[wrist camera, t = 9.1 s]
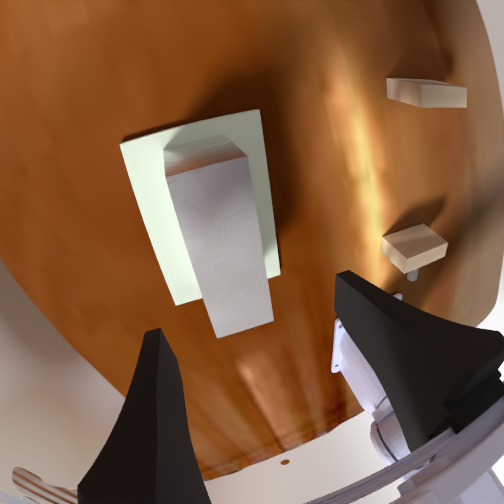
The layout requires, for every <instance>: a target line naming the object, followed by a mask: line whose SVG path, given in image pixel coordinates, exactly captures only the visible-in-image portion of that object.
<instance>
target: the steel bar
mask: <svg viewBox="0 0 504 504" xmlns="http://www.w3.org/2000/svg"><path fill="white" fill-rule="evenodd" d="M163 157H164V169H165V178H166V182H167V185H168V189H169V192H170V196H171V199H172V203H173V206H174V209H175V213H176V216H177V219H178V223H179V226H180V229H181V232H182V236H183V239H184V242H185V245H186V248H187V251H188V255H189V258H190V261H191V264H192V267H193V270H194V273H195V276H196V279H197V282H198V285H199V288H200V291H201V294H202V297H203V300H204V303H205V305H206V308H207V311H208V314H209V317H210V320H211V322H212V325H213V328H214V331H215V334H216V336H217V338H220V337H223V336H227V335H230V334H233V333H236V332H240V331H243V330H246V329H249V328H252V327H256V326H259V325H262V324H265V323H268V322H271V321H274V319H273V312H272V306H271V299H270V293H269V286H268V280H267V273H266V267H265V261H264V254H263V248H262V242H261V235H260V229H259V223H258V216H257V210H256V204H255V198H254V192H253V185H252V179H251V173H250V167H249V161H248V156H247V155H246V154H245V153H244V152H243V151H242V150H241V149H240V148H239V147H237V146H236V145H235V144H234V143H233V142H232V141H231V140H230V139H229V138H228V137H227V136H226V135H224V134H221V135H217V136H213V137H208V138H204V139H200V140H196V141H193V142H189V143H185V144H181V145H178V146H174V147H170V148H167V149H163Z"/></svg>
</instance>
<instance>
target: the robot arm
mask: <svg viewBox="0 0 504 504" xmlns="http://www.w3.org/2000/svg"><path fill="white" fill-rule="evenodd" d="M401 300H402V295H401V294H400V293H397V294H395V295H393V296H392V295H390V294H389V293H387V292H385V291H383V290H382V289H380V288H378V287H377V286H375V285H373V284H372V283H370V282H368V281H367V280H365V279H363V278H362V277H360V276H358V275H357V274H355V273H353V272H351V271H350V270H347V271H344V272H341V273H338V274H336V281H335V304H334V310H335V312H336V314H337V316H338V318H337V319H336V321H335V332H334V344H333V355H332V366H331V371H332V372H333V373H335V372H338V371H341V372H342V374H343V376H344V377H345V379H346V381H347V382H348V384H349V386H350V388H351V389H352V391H353V393H354V394H355V396H356V398H357V399H358V401H359V403H360V405H361V406H362V407H363V409H364V410H366V411H367V412H368V413H370V414H372V416H373V417H374V419H375V421H374V422H373V423H372V425H371V432H370V436H371V440H372V443H373V446H374V448H375V449H376V451H377V453H378V455H379V456H380V458H381V459H382V460H383V461H384V462H385V463H386V464H387V465H388V466H387V467H385V468H384V469H382V470H380V471H378V472H376V473H374V474H372V475H370V476H368V477H366V478H364V479H362V480H360V481H357V482H355V483H353V484H351V485H349V486H347V487H344V488H342V489H340V490H337V491H335V492H333V493H330V494H328V495H325V496H323V497H320V498H317V499H315V500H312V501H310V502H307V503H304V504H349V503H352V502H354V501H356V500H358V499H360V498H363V497H365V496H366V495H369V494H371V493H373V492H375V491H377V490H379V489H381V488H382V487H384V486H386V485H388V484H390V483H392V482H394V481H395V480H397V479H399V478H401V479H402V481H404V482H403V483H402V484H400V485H399V486H398V487H397V489H398V490H399V492H400V494H401V497H400V498H398V499H397V500H395V501H393V502H391V503H389V504H504V487H503V485H502V484H501V482H500V481H499V479H498V477H497V476H496V474H495V473H494V471H493V470H492V468H491V467H492V466H493V465H494V464H495V463H496V462H497V461H498V460H499V459H500V458H501V457H502V456H503V455H504V381H503V382H502V381H501V380H500V379H499V378H500V377H501V373H500V372H499V371H498V368H499V367H500V365H501V364H502V363H503V361H504V336H503V335H502V334H501V333H500V332H499V331H493V330H486V329H480V328H475V327H471V326H466V325H462V324H459V323H455V322H452V321H449V320H446V319H443V318H440V317H437V316H434V315H432V314H429V313H427V312H425V311H422V310H420V309H418V308H416V307H413V306H411V305H409V304H407V303H405V302H403V301H401ZM77 498H78V504H212V503H211V501H210V498H209V496H208V493H207V490H206V487H205V485H204V482H203V479H202V476H201V473H200V470H199V467H198V463H197V460H196V457H195V453H194V450H193V446H192V443H191V439H190V434H189V429H188V422H187V415H186V407H185V400H184V392H183V384H182V379H181V374H180V370H179V366H178V362H177V358H176V357H175V355H174V353H173V351H172V349H171V347H170V345H169V343H168V342H167V340H166V338H165V336H164V334H163V332H162V330H161V328H158V329H154V330H150V331H147V332H145V334H144V338H143V342H142V346H141V350H140V354H139V358H138V362H137V365H136V368H135V372H134V375H133V379H132V382H131V385H130V388H129V391H128V393H127V396H126V399H125V402H124V404H123V407H122V410H121V412H120V414H119V417H118V419H117V421H116V423H115V425H114V427H113V430H112V432H111V434H110V436H109V438H108V440H107V442H106V443H105V445H104V447H103V448H102V450H101V452H100V453H99V455H98V457H97V459H96V460H95V462H94V463H93V465H92V467H91V468H90V469H89V471H88V472H87V473H86V475H85V476H84V478H83V479H82V481H81V482H80V483H79V484H78V489H77Z"/></svg>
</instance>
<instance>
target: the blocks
mask: <svg viewBox="0 0 504 504" xmlns="http://www.w3.org/2000/svg"><path fill="white" fill-rule="evenodd" d="M386 82H387V98H388V99H392V100H396V101H400V102H403V103H407V104H411V105H414V106H418V107H421V108H424V107H466V104H467V88H466V87H462V86H458V85H454V84H449V83H445V82H440V81H436V80H426V79H405V78H386ZM447 245H448V242H447V241H446V240H444V239H443V238H442V237H440V236H439V235H438V234H437V233H435V232H434V231H433V230H431V229H430V228H429V227H427V226H426V225H425V224H423V223H422V224H419V225H416V226H413V227H410V228H407V229H404V230H401V231H398V232H395V233H392V234H389V235H386V236H383V237H382V242H381V252H382V253H383V254H384V255H385V256H386V257H387V258H388V259H389V260H390V261H391V262H392V263H393V264H394V265H395V266H396V267H398V268H399V269H400V270H401V271H402V272H403V273H404V274H405V273H408V274H407V279H408V280H409V281H416V280H417V277H418V272H419V268H420V267H422V266H424V265H427V264H429V263H431V262H433V261H436V260H438V259H440V258H442V257H445V253H446V249H447Z"/></svg>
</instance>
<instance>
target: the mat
mask: <svg viewBox="0 0 504 504" xmlns="http://www.w3.org/2000/svg"><path fill="white" fill-rule="evenodd" d="M221 134H224V135H226V136H227V137H228V138H229V139H230V140H231V141H232V142H233V143H234V144H235V145H236V146H237V147H239V148H240V149H241V150H242V151H243V152H244V153H245V154H246V155H247V156H248V161H249V167H250V173H251V179H252V185H253V192H254V198H255V204H256V210H257V216H258V223H259V229H260V235H261V242H262V248H263V254H264V261H265V267H266V273H267V279H268V278H271V277H274V276H277V275H280V267H279V258H278V249H277V241H276V232H275V224H274V215H273V207H272V199H271V191H270V183H269V175H268V168H267V160H266V153H265V145H264V138H263V131H262V123H261V116H260V110H258V109H255V110H250V111H244V112H239V113H234V114H229V115H224V116H219V117H215V118H210V119H206V120H201V121H197V122H193V123H189V124H185V125H181V126H177V127H173V128H170V129H166V130H162V131H159V132H155V133H152V134H148V135H145V136H141V137H138V138H135V139H132V140H128V141H125V142H122V143H120V147H121V151H122V154H123V157H124V161H125V164H126V168H127V171H128V174H129V177H130V181H131V184H132V187H133V190H134V193H135V196H136V199H137V202H138V205H139V208H140V211H141V214H142V217H143V220H144V223H145V226H146V229H147V232H148V234H149V237H150V240H151V243H152V245H153V248H154V251H155V254H156V256H157V259H158V262H159V264H160V267H161V269H162V272H163V275H164V277H165V280H166V282H167V285H168V287H169V290H170V292H171V295H172V297H173V300H174V302H175V304H176V305H179V304H182V303H186V302H190V301H193V300H197V299H200V298H203V297H202V294H201V291H200V288H199V285H198V282H197V279H196V276H195V273H194V270H193V267H192V264H191V261H190V258H189V255H188V251H187V248H186V245H185V242H184V239H183V236H182V232H181V229H180V226H179V223H178V219H177V216H176V213H175V209H174V206H173V203H172V199H171V196H170V192H169V189H168V185H167V182H166V178H165V169H164V157H163V149H167V148H170V147H174V146H178V145H181V144H185V143H189V142H193V141H196V140H200V139H204V138H208V137H213V136H217V135H221Z"/></svg>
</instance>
